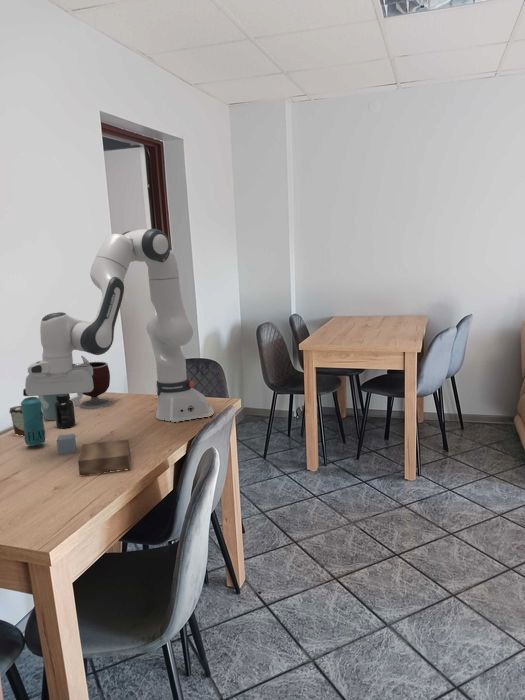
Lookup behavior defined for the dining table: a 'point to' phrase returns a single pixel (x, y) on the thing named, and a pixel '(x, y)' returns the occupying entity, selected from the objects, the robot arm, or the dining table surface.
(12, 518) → the dining table surface
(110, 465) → the walnut block
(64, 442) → the slate cube
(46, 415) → the disposable coffee cup
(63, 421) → the supplement bottle
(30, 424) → the beverage bottle
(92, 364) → the mate gourd
